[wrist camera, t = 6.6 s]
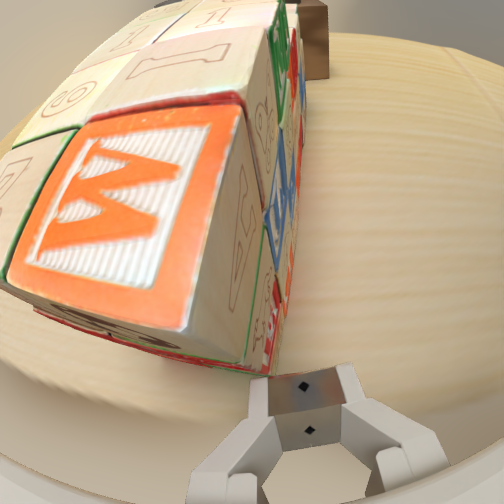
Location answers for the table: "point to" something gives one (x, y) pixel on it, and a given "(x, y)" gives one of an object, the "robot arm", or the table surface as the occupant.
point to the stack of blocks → (167, 186)
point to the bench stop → (308, 36)
